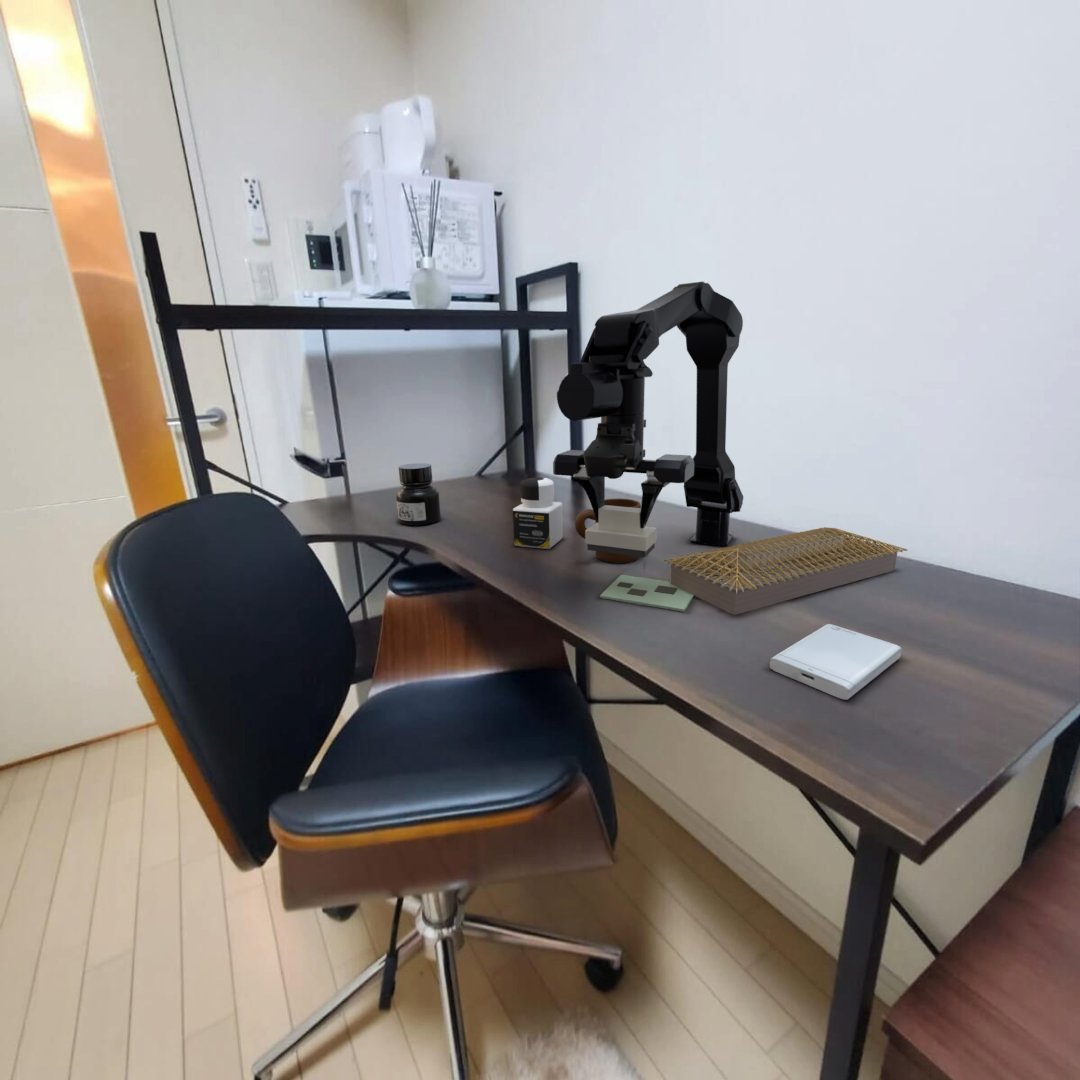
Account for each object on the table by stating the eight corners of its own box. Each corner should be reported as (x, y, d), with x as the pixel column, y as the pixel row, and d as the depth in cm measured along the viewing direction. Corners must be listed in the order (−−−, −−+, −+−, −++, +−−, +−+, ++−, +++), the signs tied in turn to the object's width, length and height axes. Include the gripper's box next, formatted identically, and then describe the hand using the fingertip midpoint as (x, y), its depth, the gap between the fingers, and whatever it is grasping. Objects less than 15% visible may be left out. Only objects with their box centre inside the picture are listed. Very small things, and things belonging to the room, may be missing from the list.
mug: (588, 572, 91) (587, 515, 88) (564, 558, 98) (564, 505, 95) (649, 559, 96) (650, 504, 93) (623, 547, 103) (624, 496, 100)
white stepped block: (598, 540, 87) (598, 502, 85) (656, 547, 83) (657, 507, 81) (585, 550, 83) (584, 510, 81) (645, 558, 79) (646, 516, 77)
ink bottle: (389, 522, 124) (383, 467, 120) (422, 513, 130) (417, 461, 127) (417, 529, 118) (412, 471, 114) (450, 519, 124) (446, 464, 121)
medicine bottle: (513, 546, 105) (510, 482, 102) (528, 535, 111) (526, 474, 108) (549, 549, 103) (548, 484, 99) (563, 538, 109) (562, 476, 105)
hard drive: (827, 622, 68) (770, 655, 61) (902, 646, 62) (849, 686, 55) (825, 634, 69) (769, 669, 61) (900, 660, 63) (847, 702, 55)
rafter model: (821, 546, 100) (825, 512, 98) (903, 571, 88) (910, 532, 86) (661, 582, 85) (663, 543, 83) (734, 618, 73) (738, 573, 71)
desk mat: (621, 576, 89) (621, 573, 89) (699, 588, 84) (699, 585, 83) (599, 597, 81) (599, 594, 81) (684, 612, 76) (684, 608, 76)
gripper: (532, 418, 74) (536, 533, 79) (675, 421, 66) (670, 550, 71) (568, 411, 84) (570, 514, 88) (697, 412, 75) (692, 526, 80)
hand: (621, 525), depth 82 cm, fingers closed on white stepped block, 6 cm apart
